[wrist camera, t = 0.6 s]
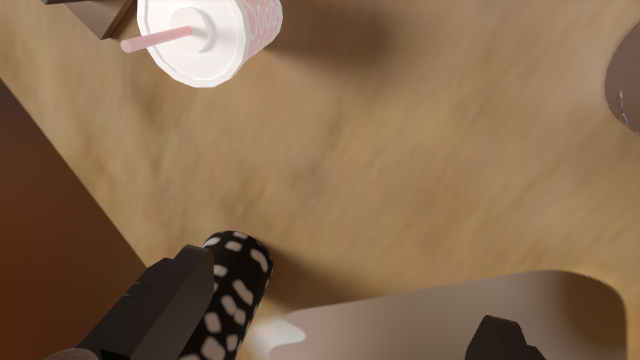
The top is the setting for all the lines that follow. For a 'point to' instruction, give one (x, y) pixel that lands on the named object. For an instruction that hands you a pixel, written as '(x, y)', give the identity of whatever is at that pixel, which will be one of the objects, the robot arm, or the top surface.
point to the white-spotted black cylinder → (230, 296)
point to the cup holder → (97, 13)
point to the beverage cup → (204, 36)
